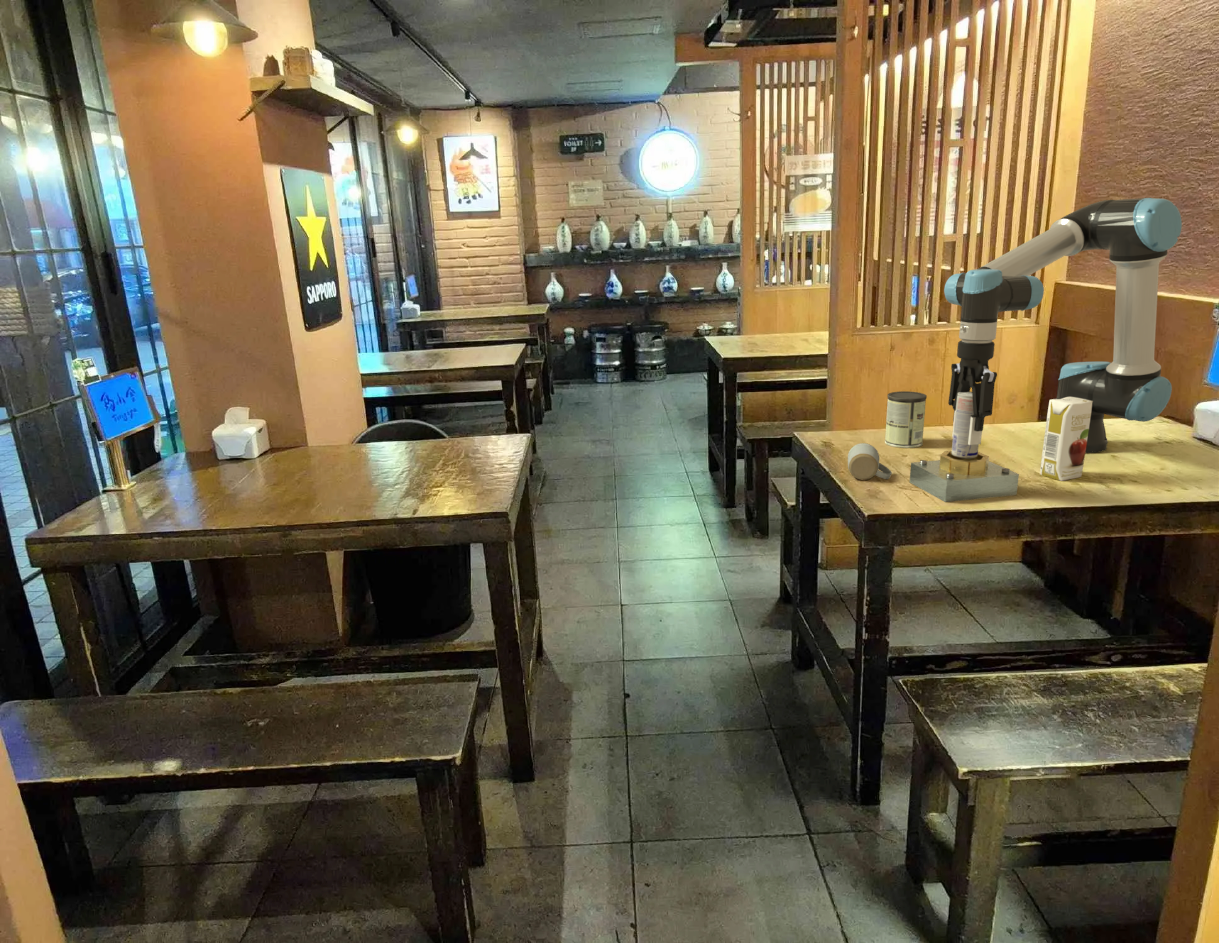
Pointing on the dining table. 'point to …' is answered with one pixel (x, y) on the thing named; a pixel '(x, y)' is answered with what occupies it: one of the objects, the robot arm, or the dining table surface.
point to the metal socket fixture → (963, 478)
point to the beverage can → (963, 427)
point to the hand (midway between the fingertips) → (966, 440)
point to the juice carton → (1065, 438)
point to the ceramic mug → (866, 463)
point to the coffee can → (905, 419)
